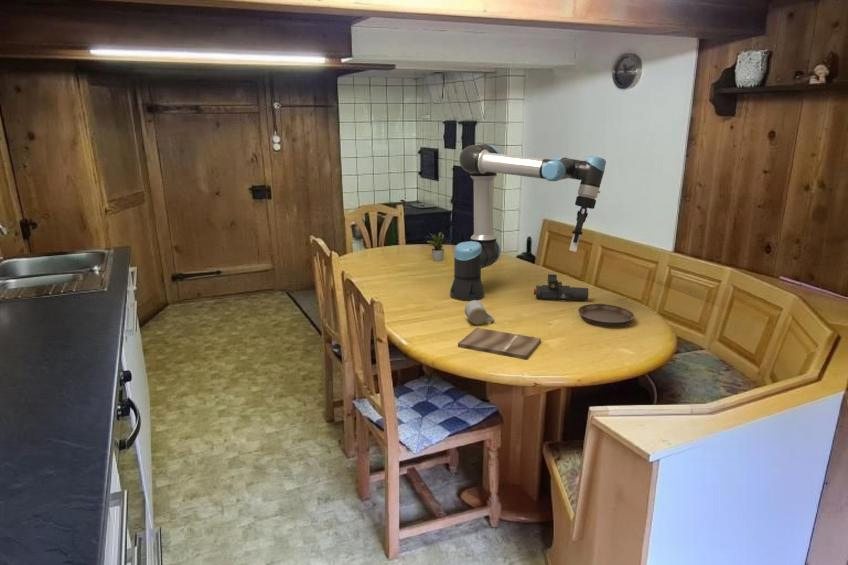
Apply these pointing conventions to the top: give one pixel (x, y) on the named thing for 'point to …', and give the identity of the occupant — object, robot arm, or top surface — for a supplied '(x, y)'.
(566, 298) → the laser sight
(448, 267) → the top surface
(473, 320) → the ceramic mug
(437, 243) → the house plant
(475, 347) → the board
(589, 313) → the plant saucer
